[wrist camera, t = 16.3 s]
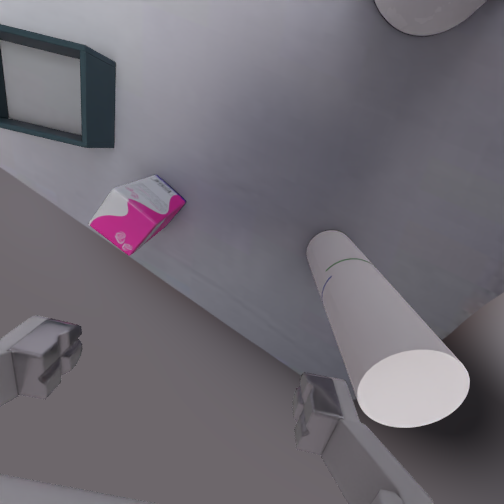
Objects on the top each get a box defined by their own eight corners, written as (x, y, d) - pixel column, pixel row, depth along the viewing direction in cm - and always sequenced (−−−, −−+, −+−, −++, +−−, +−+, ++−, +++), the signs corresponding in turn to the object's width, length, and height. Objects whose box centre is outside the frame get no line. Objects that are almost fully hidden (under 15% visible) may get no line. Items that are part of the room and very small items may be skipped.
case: (5, 122, 36) (-43, 117, 31) (-7, 32, 32) (-63, 8, 27) (114, 147, 37) (86, 147, 31) (115, 62, 33) (85, 45, 27)
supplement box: (133, 202, 39) (84, 223, 29) (156, 173, 38) (113, 183, 27) (164, 228, 41) (128, 257, 30) (188, 201, 39) (158, 222, 28)
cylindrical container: (298, 262, 42) (337, 406, 18) (320, 222, 39) (399, 333, 16) (337, 279, 42) (422, 439, 19) (362, 241, 40) (494, 374, 17)
